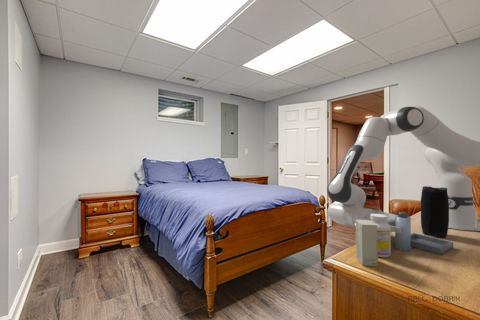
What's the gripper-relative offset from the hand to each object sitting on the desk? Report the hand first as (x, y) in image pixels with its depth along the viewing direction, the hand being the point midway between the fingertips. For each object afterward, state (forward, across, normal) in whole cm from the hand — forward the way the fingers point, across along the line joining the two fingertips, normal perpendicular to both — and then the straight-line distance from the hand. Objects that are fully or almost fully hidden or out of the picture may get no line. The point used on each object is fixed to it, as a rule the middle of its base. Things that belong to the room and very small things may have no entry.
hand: (405, 229), depth 77 cm
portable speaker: (-1, +27, +7) cm, 28 cm away
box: (+2, +10, +7) cm, 12 cm away
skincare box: (-2, -21, +7) cm, 22 cm away
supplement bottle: (-3, -12, +7) cm, 14 cm away
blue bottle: (-1, 0, +7) cm, 7 cm away
